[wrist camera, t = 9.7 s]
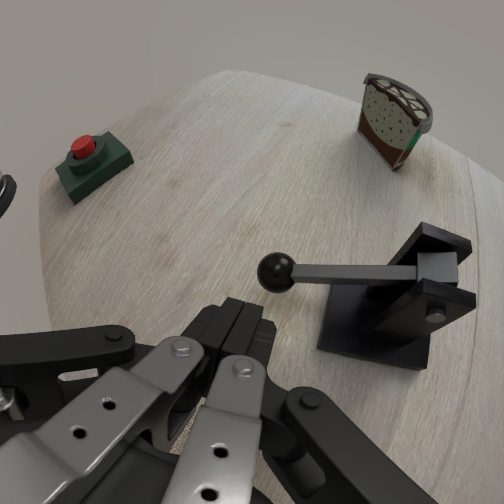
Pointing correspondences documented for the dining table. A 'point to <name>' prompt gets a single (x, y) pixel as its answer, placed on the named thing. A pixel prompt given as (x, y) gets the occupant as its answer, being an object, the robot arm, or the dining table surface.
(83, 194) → the control block
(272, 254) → the lever
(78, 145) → the button
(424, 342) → the black bracket
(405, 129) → the cake slice
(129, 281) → the dining table surface
